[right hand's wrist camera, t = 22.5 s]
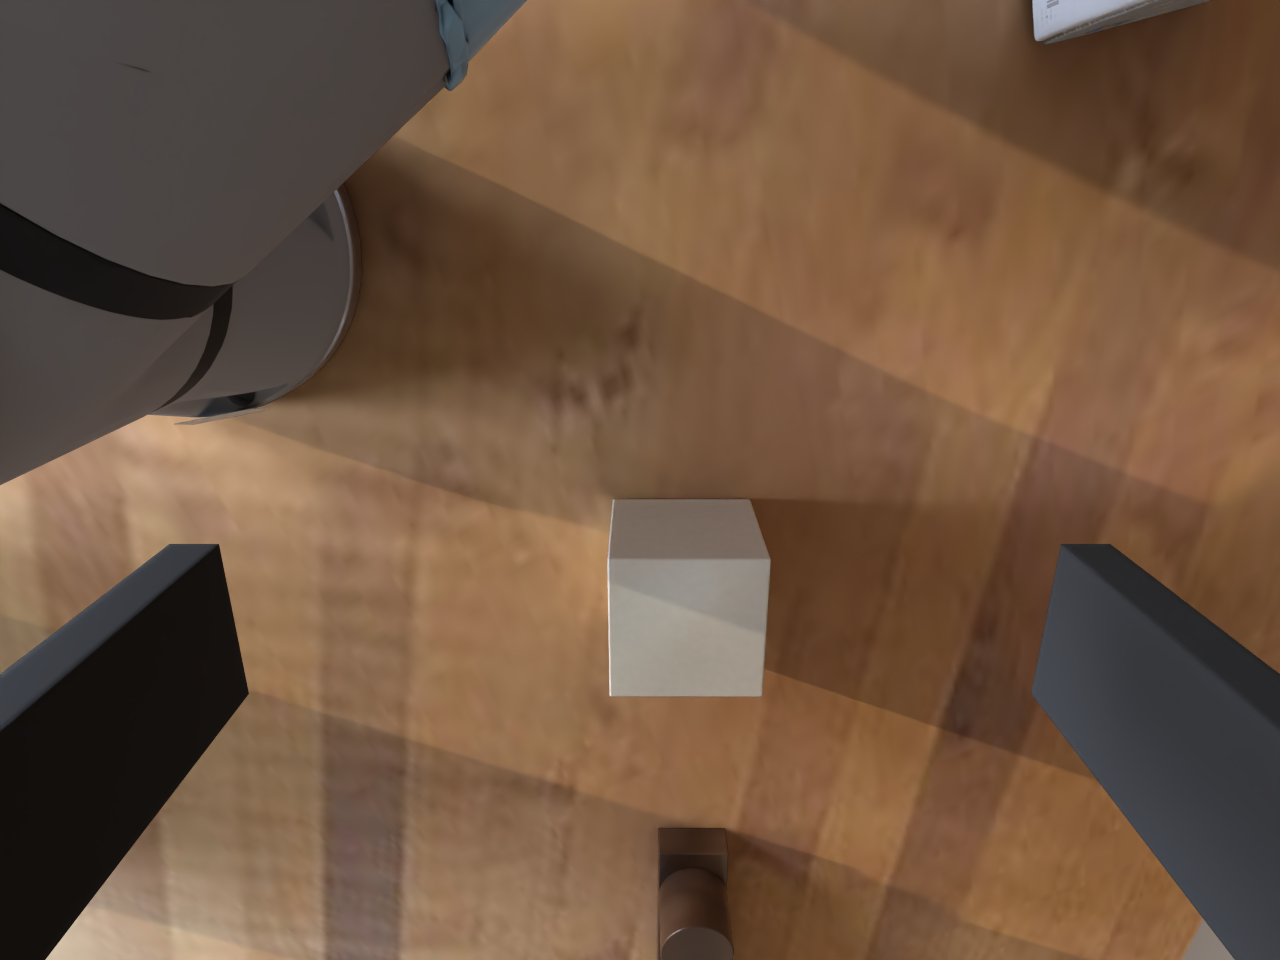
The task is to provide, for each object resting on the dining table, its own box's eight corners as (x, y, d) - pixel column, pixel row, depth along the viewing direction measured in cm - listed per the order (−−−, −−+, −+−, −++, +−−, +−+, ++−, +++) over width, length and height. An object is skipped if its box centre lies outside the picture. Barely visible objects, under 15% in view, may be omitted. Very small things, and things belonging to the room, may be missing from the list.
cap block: (614, 619, 43) (609, 697, 37) (612, 498, 41) (607, 559, 34) (744, 619, 43) (762, 697, 37) (750, 498, 41) (771, 559, 34)
